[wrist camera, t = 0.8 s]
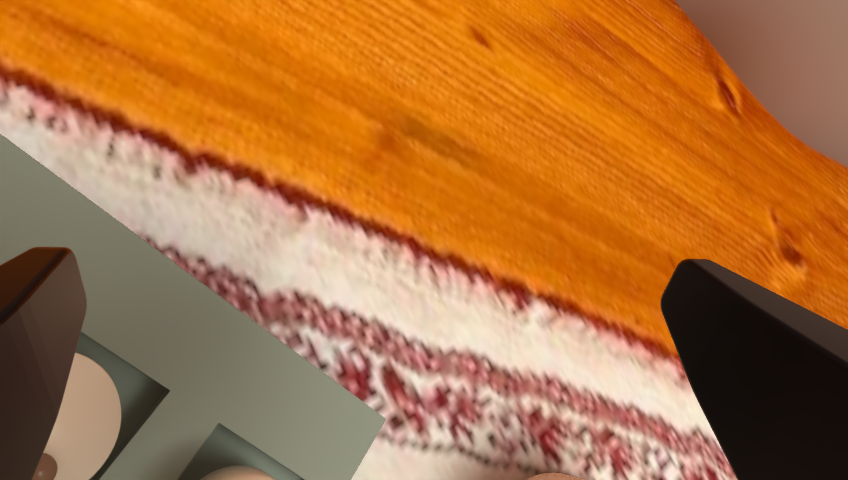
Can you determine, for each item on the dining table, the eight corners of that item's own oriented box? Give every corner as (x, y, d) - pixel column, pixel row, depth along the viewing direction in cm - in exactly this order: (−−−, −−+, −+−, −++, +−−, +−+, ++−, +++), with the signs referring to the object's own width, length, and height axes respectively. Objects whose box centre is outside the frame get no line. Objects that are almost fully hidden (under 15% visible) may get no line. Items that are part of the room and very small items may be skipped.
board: (177, 728, 19) (184, 765, 17) (-524, 403, 13) (-619, 409, 11) (366, 414, 24) (386, 419, 22) (-76, 90, 19) (-95, 63, 17)
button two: (52, 511, 17) (40, 543, 14) (-76, 439, 15) (-119, 458, 13) (147, 395, 18) (154, 401, 15) (38, 324, 17) (23, 317, 14)
